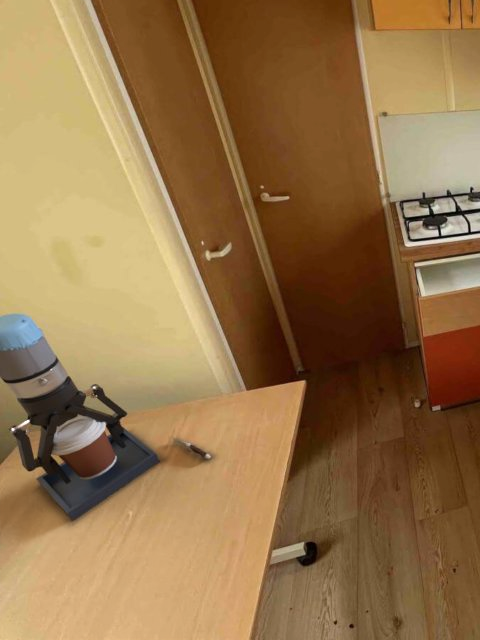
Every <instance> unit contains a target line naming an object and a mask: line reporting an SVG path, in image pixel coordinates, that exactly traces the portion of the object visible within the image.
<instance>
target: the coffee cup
mask: <svg viewBox="0 0 480 640" xmlns="http://www.w3.org/2000/svg"><path fill="white" fill-rule="evenodd" d="M107 436H108V435H107V433H106V423H105V422H102V421H99V420H96V419H93V418H90V417H85V416H82V415H81V416H77V417H75V418H74V419H71V420H68V421H67V422H65V423H64V424H63V425H61V426H59V427H58V426H57V430H56V433H55V434H54V440H53V446H52V452H51V456H58V457H59V458H60V459H61V460H62V461H63V462H65V463H66V464H67V465H68V466H69V467H70V468H71V469H72V470H73V471H74V472H75V473H76V474H77V475H78V476H79V477H80V479H84V480H86V479H92V478H95V477H97V476H100V475H101V474H103V473H105V472H106V471H108V470H109V469H110V468H111V467H112V466H113V465H114V463H115V462H116V459H117V457H116V455H115V453H114V450H113V448H112V446H111V444H110V442H109V439H108V437H107Z"/></svg>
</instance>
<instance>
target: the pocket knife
mask: <svg viewBox="0 0 480 640" xmlns="http://www.w3.org/2000/svg"><path fill="white" fill-rule="evenodd" d="M172 439H173V441H175V442H176V443H178V444H180V445H182V446H184V447H186V449H188V451H192V452H193V453H194V454H197V455H199V456H200V457H202V458H204V459H206V460H209V459H211V455H210V454H209V453H208V452H207V451H205V450H204V449H201V448H199V447H198V446H196V445H194V444H192V443H189V442H186V441H183V440H180V439H177V438H174V437H172Z"/></svg>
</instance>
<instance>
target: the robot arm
mask: <svg viewBox="0 0 480 640" xmlns="http://www.w3.org/2000/svg"><path fill="white" fill-rule="evenodd" d="M0 379H1V380H2V381H3V383H4V384H5V385H6V387H7V388H8V390H9V391H10V393H12V395H13V396H14V397H15V398H16V399H17V402H18V403H19V405H20V406H21V407H22V409H23V410H24V412H25V413H26V414H27V419H26V420H25V421H24V422H22V423H20V424H18V425H16V424H15V425H12V426H10V427H9V428H8V431H9V433H11V434H12V436H13V437H15V440H16V444H17V448H18V452H19V456H20V460H21V465H22V467H23V468H25V470H26V471H27V472H33V471H35V470H36V469H38V468H42V469H43V470H44V473H47V474H48V475H49V476H52V475H54V474H56V473H58V475H59V476H60V477H61V479H62V480H63V481H64V482H65V483H66V484H68V483H69V482H71V480H70V479H69V477H68V476H67V475H66V473H65V472H64V471H63V469H62V468H61V467H60V464H59V462H58V461H57V459H55V458H54V457H53V455H52V454H51V452H52V446H53V440H54V434H55V433H56V430H57V428H58V427H59V426H61V425H63V424H64V423H66V422H68V421H70V420H72V419H75V418H78V416H81V417H82V416H85V417H90V418H93V419H96V420H99V421H102V422H105V423H106V427H105V429H107V431H108V432H109V435H110V434H111V436H112V437H113V439H114V440H115V442H116V444H117V445H119V446H120V447H121V448H122V449H123V448H125V447H126V445H125V443H124V442H123V440H122V438H121V437H120V434H121V433H123V432H124V429H123V427H124V426H122V424H121V420H122V419H123V418H126V417H127V415H128V412H127V411H126V410H124V409H123V408H122V407H121V406H119V404H117V403H116V402H114V401H113V400H112V399H110V398H109V397H108V396H106V393H105V391H104V389H103V387H101V386H100V385H99V384H97V383H94V384H92V385H90V387H89V388H88V389H86V390H83V391H82V390H79V388H78V387H77V385H76V383H74V381H73V379H72V378H71V376H69V373H68V372H67V370H66V368H65V367H64V366H63V364H62V362H61V361H60V360H59V358H58V357H57V355H56V354H55V352H54V351H53V349H52V347H51V346H50V344H49V342H48V340H47V338H46V337H45V335H44V331H43V330H42V329H41V328H40V327H39V326H38V325H37V323H36V322H35V321H34V320H33V319H32V317H30V316H29V315H27V314H24V313H7V314H3V315H1V316H0ZM88 397H90V398H91V399H97V400H98V401H99V402H101V403H102V404H104V405H105V406H106V407H107V408H109V409H110V410H111V411H113V412H114V413H113V414H108V413H106V412H103V411H100V410H97V409H94V408H91V407H89V406H85V405H84V404H85V401H86V398H88ZM32 426H39V427H40V436H39V441H38V442H39V443H38V448H37V453H36V457H35V455H34V452H33V447H32V443H31V439H30V437H29V434H30V433H31V427H32Z"/></svg>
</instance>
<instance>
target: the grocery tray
mask: <svg viewBox="0 0 480 640" xmlns="http://www.w3.org/2000/svg"><path fill="white" fill-rule="evenodd" d="M122 427H123V429H124V432H123V433H121V434H120V437H121V438H122V440H123V442H124V443H125V445H126V447H125V448H123V449H122V448H121V447H120V446H119V445H117V444H116V442H115V440H114V439H113V437H112V436H111V434H110V433H109V434H108V435H107V437H108V439H109V442H110V444H111V446H112V448H113V450H114V453H115V455H116V457H117V459H116V462H115V463H114V465H113V466H112V467H111V468H110V469H109V470H108V471H106V472H105V473H103V474H101V475H100V476H97V477H95V478H92V479H86V480H84V479H80V477H79V476H78V475H77V474H76V473H75V472H74V471H73V470H72V469H71V468H70V467H69V466H68V465H67V464H66V463H65V462H64V461H63V462H61V463H60V464H59V465H60V467H61V468H62V469H63V471H64V472H65V473H66V475H67V476H68V477H69V479H70V480H71V482H69V483H68V484H66V483H65V482H64V481H63V480H62V479H61V477H60V476H59V475H58V473H56V474H54V475H52V476H49V475H48V474H47V473H46V472H44V473H43V474H41V475H39V476H38V477H36V481H37V482H38V483H39V485H41V487H42V488H43V489H44V490H45V491H46V492H47V494H48V495H49V496H50V497H51V498H52V500H53V501H55V503H56V504H57V506H59V507H60V508H61V510H62V511H64V513H65V514H66V515H67V516H68V517H69V518H70V519H71V521H73V522H74V521H76V520H78V518H80V517H81V516H83V515H84V514H86V513H87V512H89V511H90V510H91V509H93V508H94V507H95V506H97V505H99V504H100V503H101V502H104V500H106V499H108V498H109V497H110V496H112V495H113V494H115V493H116V492H118V491H120V490H121V489H122V488H123V487H125V486H126V485H128V484H129V483H131V482H132V481H133V480H135V479H136V478H138V477H140V476H141V475H142V474H144V473H145V472H147V471H148V470H149V469H151V468H152V467H154V466H155V465H156V464H158V463H160V461H161V460H160V459H159V457H158V454H157V453H155V452H154V450H152V449H151V448H150V447H148V446H147V445H146V444H145V443H144V442H142V441H141V440H140V439H139V438H138V437H136V436H135V435H134V434H133V433H131V432H130V431H129V430H128V429H126V428H125V427H124V426H122Z"/></svg>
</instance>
